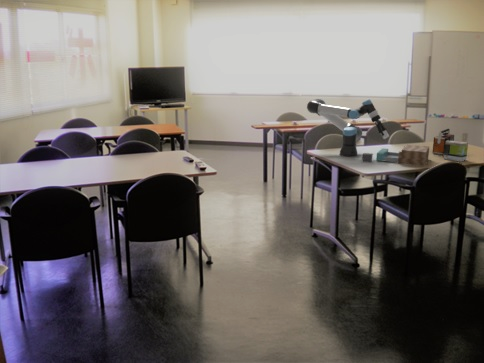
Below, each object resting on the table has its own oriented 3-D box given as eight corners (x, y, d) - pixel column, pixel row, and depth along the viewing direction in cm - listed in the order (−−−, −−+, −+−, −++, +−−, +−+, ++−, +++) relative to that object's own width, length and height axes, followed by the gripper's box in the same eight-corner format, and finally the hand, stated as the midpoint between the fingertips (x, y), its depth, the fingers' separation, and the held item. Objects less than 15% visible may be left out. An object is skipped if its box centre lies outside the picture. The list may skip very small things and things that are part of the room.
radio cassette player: (443, 155, 430) (446, 132, 425) (431, 154, 436) (433, 131, 431) (452, 150, 452) (455, 128, 447) (441, 149, 458) (443, 127, 453)
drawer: (376, 160, 405) (376, 153, 404) (381, 155, 426) (382, 148, 425) (405, 163, 396) (406, 155, 394) (409, 157, 417) (410, 150, 415)
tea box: (466, 160, 411) (468, 142, 407) (460, 161, 404) (463, 144, 400) (449, 157, 421) (451, 140, 418) (443, 159, 415) (445, 141, 411)
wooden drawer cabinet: (397, 163, 396) (399, 149, 394) (403, 157, 421) (404, 144, 418) (424, 165, 388) (425, 152, 385) (428, 159, 412) (429, 146, 410)
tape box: (362, 161, 404) (362, 153, 403) (363, 160, 408) (364, 152, 407) (370, 162, 401) (371, 154, 400) (372, 160, 406) (372, 153, 404)
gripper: (375, 115, 411) (388, 137, 410) (381, 113, 434) (393, 134, 432) (367, 119, 415) (380, 141, 414) (373, 117, 437) (385, 138, 436)
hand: (386, 138), depth 423 cm, fingers open, 13 cm apart
